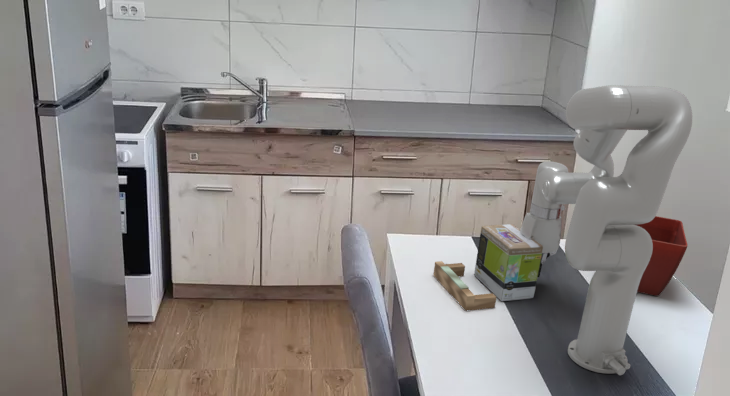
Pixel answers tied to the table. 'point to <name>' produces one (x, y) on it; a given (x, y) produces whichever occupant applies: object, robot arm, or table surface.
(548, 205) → the robot arm
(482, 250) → the tea box
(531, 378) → the table surface
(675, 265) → the plant pot
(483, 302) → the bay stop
